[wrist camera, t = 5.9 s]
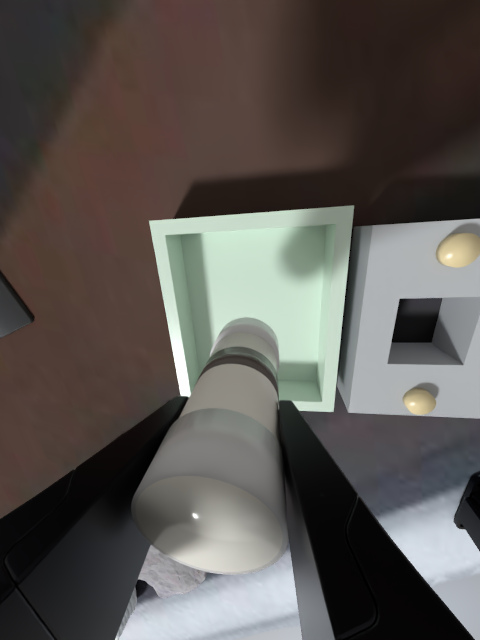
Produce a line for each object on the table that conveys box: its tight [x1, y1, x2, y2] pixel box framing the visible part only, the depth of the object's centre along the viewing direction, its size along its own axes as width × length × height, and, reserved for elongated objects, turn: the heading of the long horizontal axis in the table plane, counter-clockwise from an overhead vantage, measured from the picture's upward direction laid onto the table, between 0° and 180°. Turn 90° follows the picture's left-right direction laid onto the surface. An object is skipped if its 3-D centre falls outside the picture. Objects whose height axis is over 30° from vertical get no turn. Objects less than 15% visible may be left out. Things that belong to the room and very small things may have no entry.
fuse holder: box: [337, 219, 480, 418], centre depth 14 cm, size 8×12×4 cm, turn 3°
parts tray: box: [149, 205, 354, 412], centre depth 16 cm, size 11×13×3 cm
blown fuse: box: [131, 317, 288, 575], centre depth 8 cm, size 3×3×8 cm
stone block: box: [138, 545, 207, 598], centre depth 29 cm, size 12×5×10 cm
